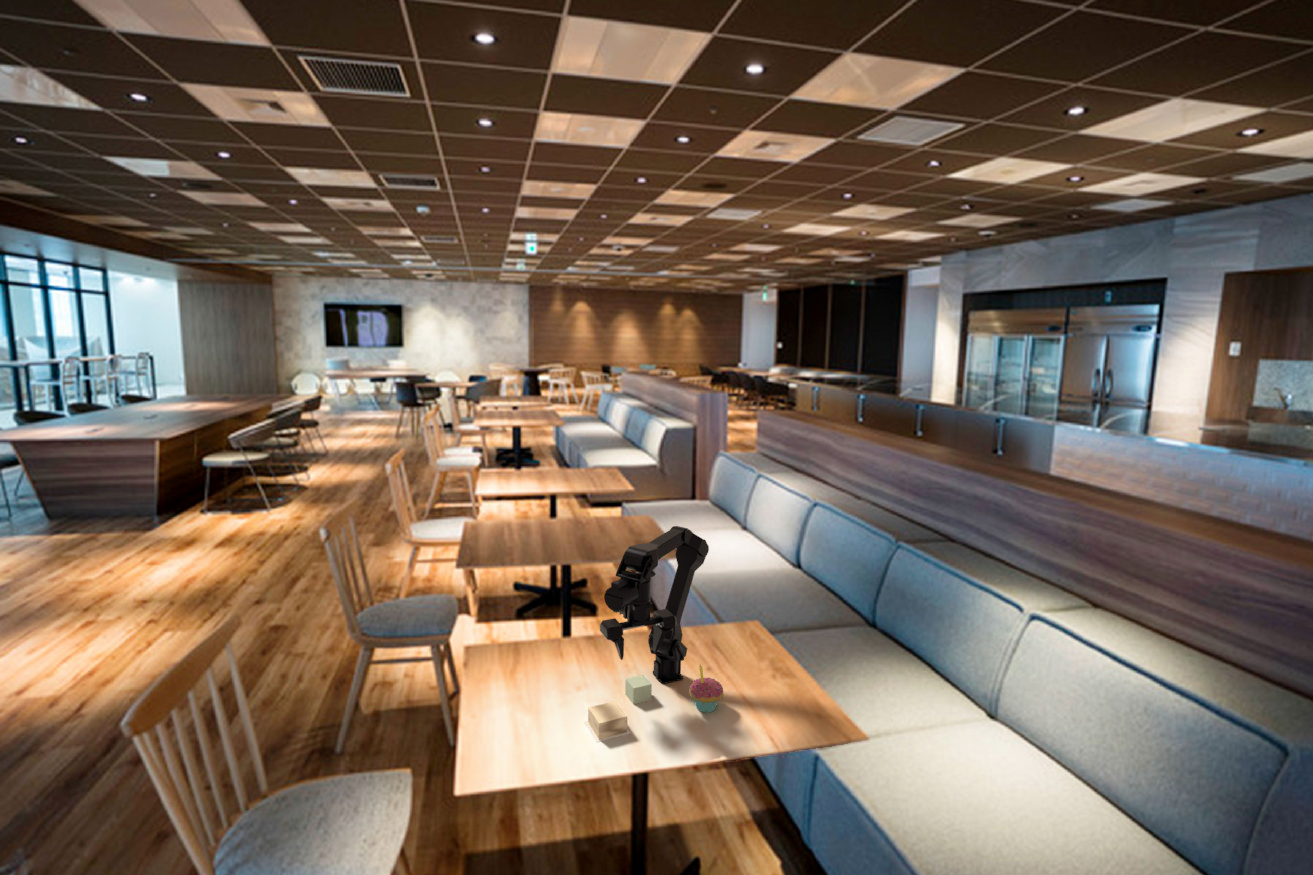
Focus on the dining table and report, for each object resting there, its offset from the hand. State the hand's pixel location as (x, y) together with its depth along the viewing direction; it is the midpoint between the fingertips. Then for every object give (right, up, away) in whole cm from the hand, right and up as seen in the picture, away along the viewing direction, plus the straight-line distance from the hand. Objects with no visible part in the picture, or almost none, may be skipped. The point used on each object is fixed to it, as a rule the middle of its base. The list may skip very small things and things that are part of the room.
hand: (638, 655), depth 167 cm
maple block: (-7, -13, -11) cm, 19 cm away
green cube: (0, -12, +2) cm, 12 cm away
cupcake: (+17, -13, -1) cm, 21 cm away
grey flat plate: (-5, -14, -10) cm, 18 cm away
